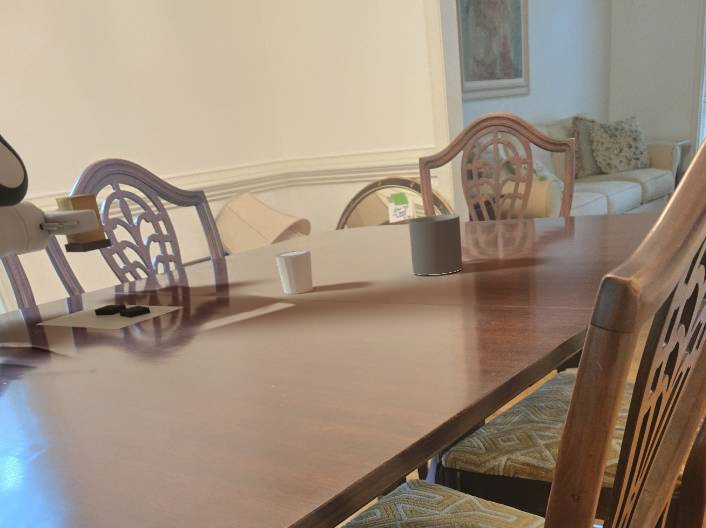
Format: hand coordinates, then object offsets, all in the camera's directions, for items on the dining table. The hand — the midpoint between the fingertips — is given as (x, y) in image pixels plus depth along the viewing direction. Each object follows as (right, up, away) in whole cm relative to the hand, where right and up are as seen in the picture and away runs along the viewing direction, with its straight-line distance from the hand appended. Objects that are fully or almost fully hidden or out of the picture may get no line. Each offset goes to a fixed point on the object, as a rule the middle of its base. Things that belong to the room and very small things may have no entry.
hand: (84, 217), depth 155 cm
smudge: (+10, -23, -11) cm, 27 cm away
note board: (+11, -25, -13) cm, 30 cm away
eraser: (0, -6, +2) cm, 6 cm away
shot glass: (+44, -17, -4) cm, 47 cm away
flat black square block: (+16, -24, -15) cm, 32 cm away
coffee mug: (+72, -10, +2) cm, 72 cm away
